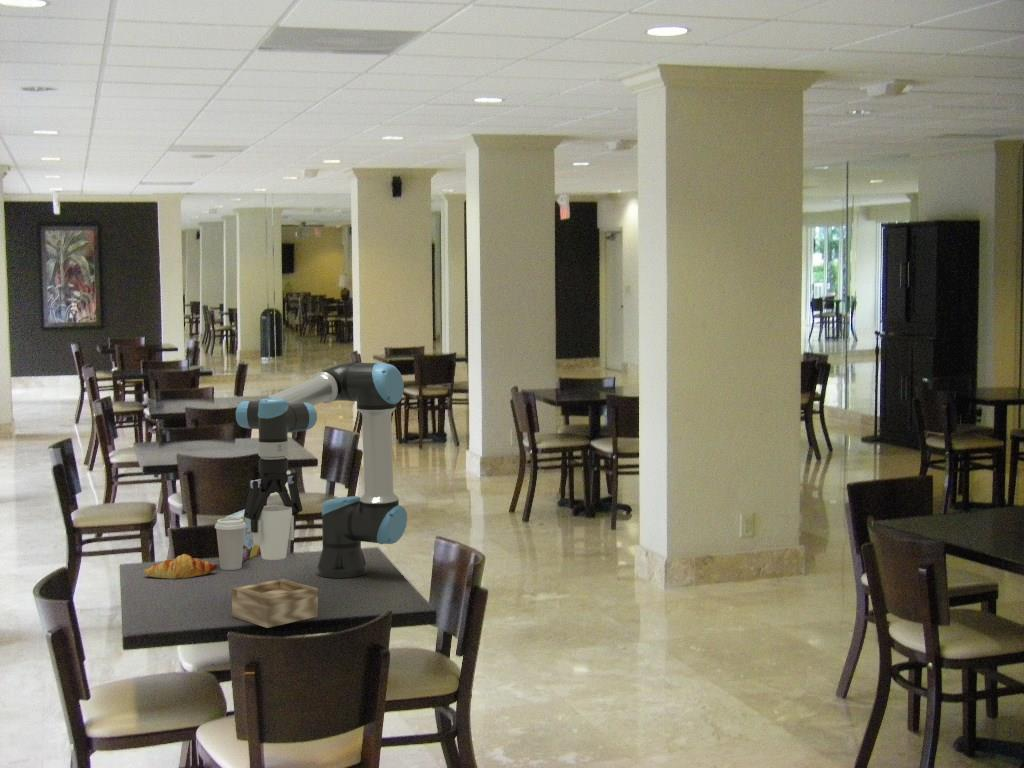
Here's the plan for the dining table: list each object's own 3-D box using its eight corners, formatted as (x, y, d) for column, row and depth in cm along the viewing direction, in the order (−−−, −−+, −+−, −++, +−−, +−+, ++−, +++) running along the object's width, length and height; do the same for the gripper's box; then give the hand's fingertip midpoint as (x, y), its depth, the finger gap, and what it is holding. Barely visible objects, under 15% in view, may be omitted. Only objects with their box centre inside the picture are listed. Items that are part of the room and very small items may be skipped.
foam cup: (257, 561, 319) (256, 512, 318) (254, 554, 328) (253, 506, 327) (294, 559, 321) (293, 510, 321) (290, 553, 330) (289, 504, 329)
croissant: (145, 591, 368) (144, 570, 363) (144, 569, 376) (143, 549, 372) (218, 585, 374) (217, 565, 370) (215, 563, 382) (215, 543, 378)
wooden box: (282, 605, 337) (282, 578, 337) (317, 616, 326) (317, 588, 326) (232, 616, 326) (231, 588, 325) (267, 628, 315) (266, 599, 314)
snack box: (240, 564, 388) (239, 517, 387) (223, 564, 389) (222, 516, 388) (266, 551, 409) (266, 506, 408) (250, 550, 410) (250, 505, 409)
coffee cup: (250, 564, 388) (250, 517, 387) (240, 571, 378) (240, 523, 377) (221, 564, 389) (220, 517, 388) (210, 570, 379) (210, 522, 378)
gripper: (245, 462, 312) (245, 549, 314) (316, 455, 328) (316, 538, 330) (228, 459, 318) (229, 545, 319) (299, 452, 333) (299, 534, 335)
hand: (273, 542), depth 324 cm, fingers closed on foam cup, 9 cm apart
